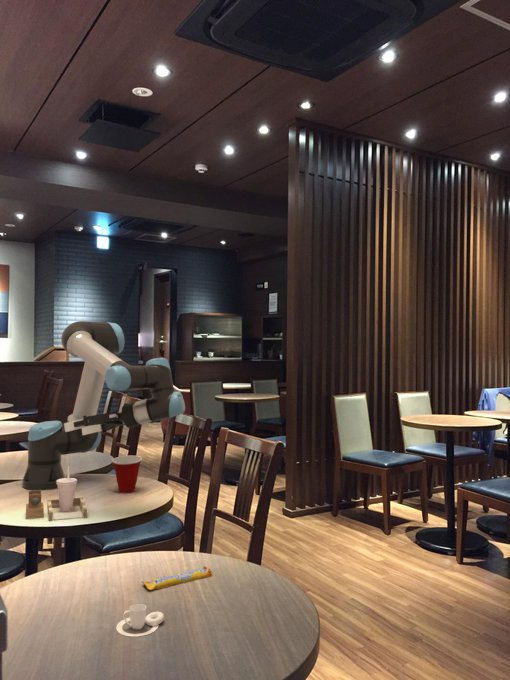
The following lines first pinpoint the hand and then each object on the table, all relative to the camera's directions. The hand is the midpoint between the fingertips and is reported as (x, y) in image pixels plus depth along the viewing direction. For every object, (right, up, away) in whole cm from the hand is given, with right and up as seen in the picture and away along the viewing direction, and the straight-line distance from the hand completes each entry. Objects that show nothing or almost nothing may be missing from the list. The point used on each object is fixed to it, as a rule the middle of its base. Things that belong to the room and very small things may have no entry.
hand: (73, 429), depth 187 cm
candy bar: (+41, -27, -55) cm, 74 cm away
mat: (+1, -25, -9) cm, 27 cm away
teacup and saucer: (+39, -26, -78) cm, 91 cm away
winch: (-10, -25, -8) cm, 28 cm away
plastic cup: (+12, -26, +23) cm, 37 cm away
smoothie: (-2, -26, -2) cm, 26 cm away
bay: (-1, -25, -5) cm, 26 cm away
